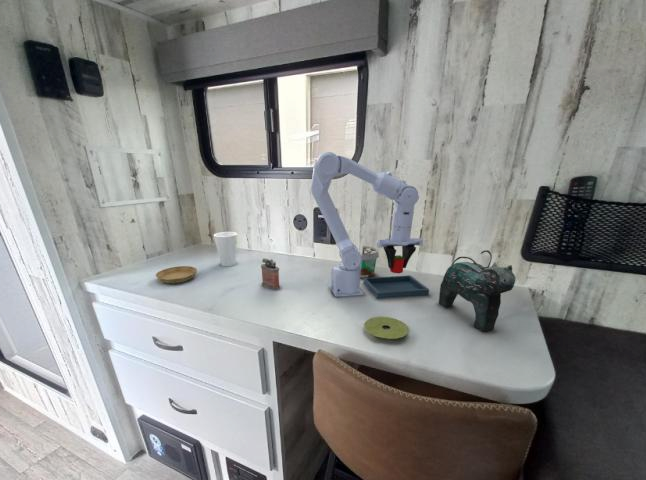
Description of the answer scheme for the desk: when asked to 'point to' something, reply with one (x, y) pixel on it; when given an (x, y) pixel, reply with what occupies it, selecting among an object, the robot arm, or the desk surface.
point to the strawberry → (398, 264)
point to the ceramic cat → (477, 289)
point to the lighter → (270, 274)
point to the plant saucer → (176, 274)
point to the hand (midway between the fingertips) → (396, 267)
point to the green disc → (386, 327)
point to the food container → (368, 262)
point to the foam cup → (226, 247)
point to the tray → (395, 287)
